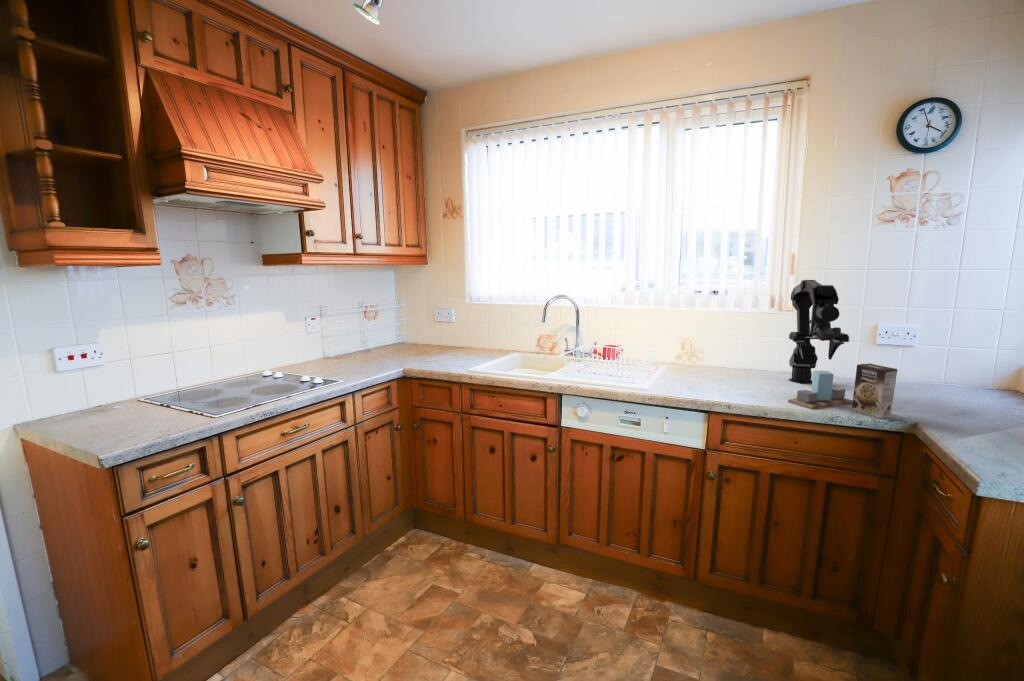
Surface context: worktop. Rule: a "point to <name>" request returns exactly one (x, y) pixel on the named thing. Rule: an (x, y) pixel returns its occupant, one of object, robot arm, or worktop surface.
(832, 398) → the rail
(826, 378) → the block
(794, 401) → the board
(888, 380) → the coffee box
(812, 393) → the mounted modules
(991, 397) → the worktop surface
